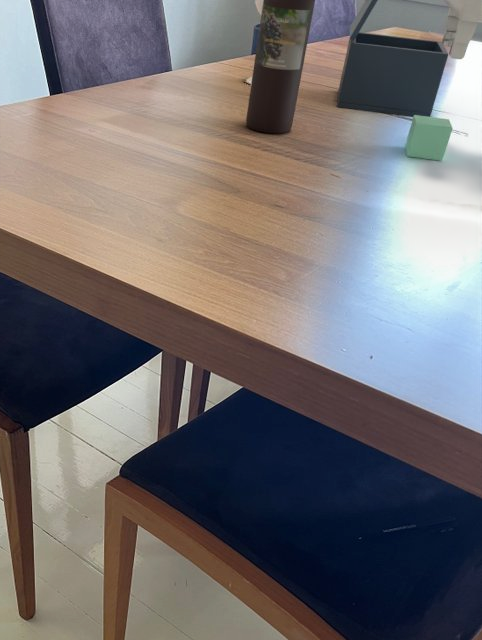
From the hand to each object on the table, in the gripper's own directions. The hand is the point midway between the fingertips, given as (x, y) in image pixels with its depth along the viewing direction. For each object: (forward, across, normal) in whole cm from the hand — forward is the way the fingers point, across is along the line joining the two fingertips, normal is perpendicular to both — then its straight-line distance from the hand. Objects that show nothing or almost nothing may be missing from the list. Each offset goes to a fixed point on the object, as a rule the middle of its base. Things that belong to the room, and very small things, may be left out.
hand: (451, 51), depth 98 cm
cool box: (+13, +29, +5) cm, 32 cm away
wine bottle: (+14, +3, +23) cm, 27 cm away
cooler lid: (-4, +29, +9) cm, 31 cm away
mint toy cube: (+13, 0, 0) cm, 13 cm away
